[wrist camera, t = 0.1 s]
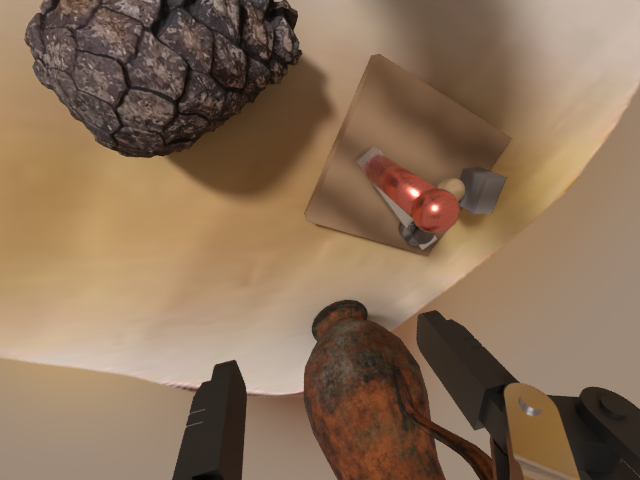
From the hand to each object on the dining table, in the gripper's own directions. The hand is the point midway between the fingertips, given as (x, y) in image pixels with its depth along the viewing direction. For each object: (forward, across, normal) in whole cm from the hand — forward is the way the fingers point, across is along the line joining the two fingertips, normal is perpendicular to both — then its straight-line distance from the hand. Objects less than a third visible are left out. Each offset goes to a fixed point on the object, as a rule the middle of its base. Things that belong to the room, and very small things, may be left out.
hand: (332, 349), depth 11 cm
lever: (+20, -13, +2) cm, 24 cm away
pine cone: (+21, +6, -15) cm, 26 cm away
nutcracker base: (+22, -15, -1) cm, 27 cm away
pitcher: (+26, -6, +22) cm, 35 cm away
